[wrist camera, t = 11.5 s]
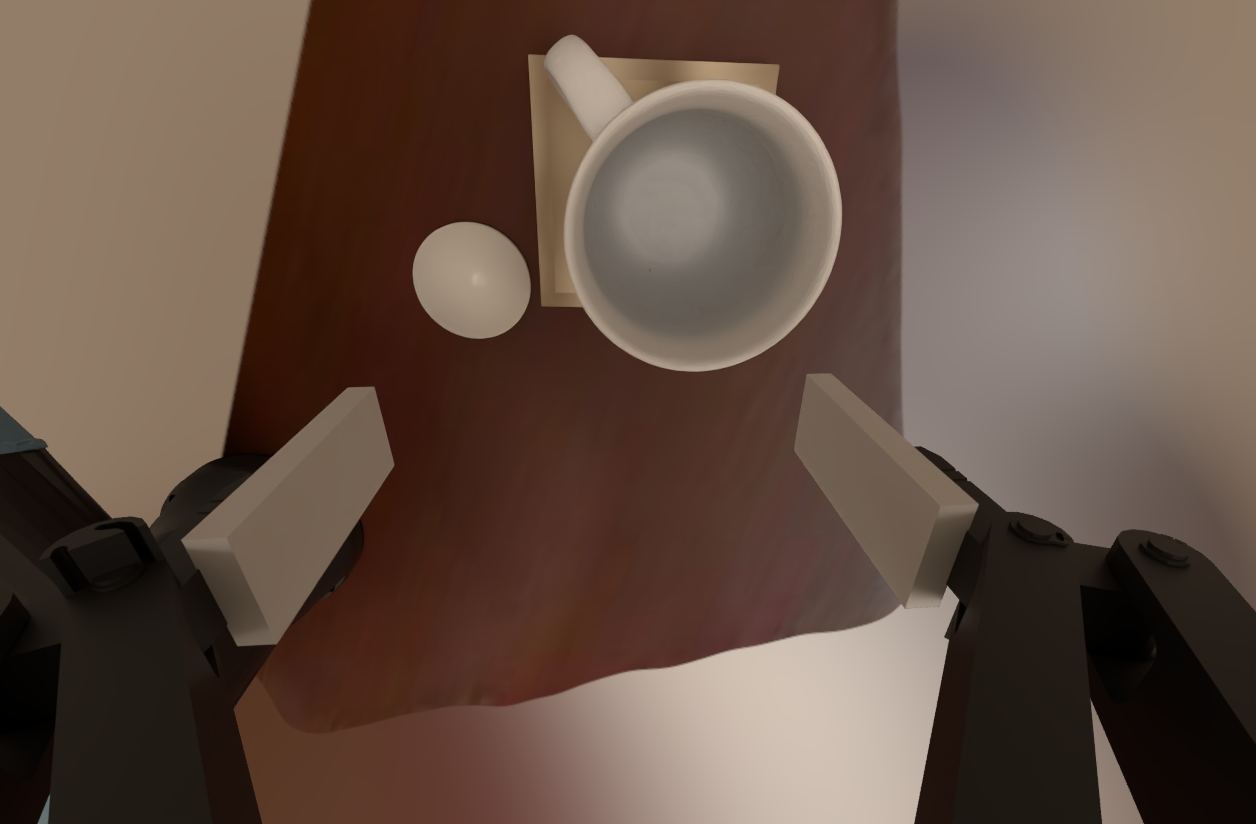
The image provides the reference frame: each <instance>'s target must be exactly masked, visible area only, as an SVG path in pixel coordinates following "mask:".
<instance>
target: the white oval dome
mask: <svg viewBox="0 0 1256 824" xmlns="http://www.w3.org/2000/svg"><path fill="white" fill-rule="evenodd" d="M413 282H414V287H415V291H416V293H417V296H418V299H419V300H420V302H421V304H422V306H423V307H424V309H425V310H426V312H427V313H428V314H429V315H430V316H431V318H432V319H434V320H435V321H436V322H437V323H438V324H439V325H441V326H442V327H443V328H445V329H447V330H448V331H450V332H452V333H455V334H457V335H460V336H463V337H468V338H477V339H481V338H490V337H494V336H497V335H500V334H502V333H504V332H506V331H507V330H509V329H510V328H512V327H513V326H514V325H515V324H516V323H517V322H518V321H519V320H520V318H521V317H522V315H523V314H524V312H525V310H526V308H527V305H528V303H529V299H530V294H531V278H530V273H529V269H528V266H527V263H526V261H525V259H524V257H523V255H522V253H521V252H520V251H519V249H518V248H517V246H516V245H515V244H514V243H513V242H512V241H511V240H510V239H509V238H508V237H506V236H505V235H504V234H502V233H501V232H499V231H498V230H496V229H494V228H492V227H490V226H487V225H484V224H481V223H476V222H457V223H452V224H449V225H446V226H444V227H441V228H439V229H438V230H436V231H434V232H433V233H432V234H430V235H429V236H428V237H427V238H426V239H425V240H424V241H423V243H422V244H421V246H420V247H419V249H418V251H417V253H416V256H415V260H414V265H413Z"/></svg>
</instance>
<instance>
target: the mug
mask: <svg viewBox="0 0 1256 824" xmlns="http://www.w3.org/2000/svg"><path fill="white" fill-rule="evenodd" d="M544 68H545V71H546V73H547V75H548V77H549V79H550V81H551V82H552V84H553V85H554V87H555V88H556V90H557V91H558V93H559V94H560V96H561V97H562V99H563V100H564V101H565V103H566V104H567V105H568V107H569V108H570V109H571V111H572V112H573V113H574V114H575V116H576V117H577V119H578V120H579V122H580V124H581V126H582V127H583V129H584V131H585V133H586V134H587V136H588V137H589V138H590V139H591V141H592V144H591V146H590V148H589V149H588V150H587V152H586V154H585V156H584V157H583V159H582V161H581V163H580V164H579V167H578V169H577V171H576V173H575V176H574V178H573V181H572V185H571V188H570V191H569V194H568V199H567V203H566V210H565V217H564V231H563V237H564V252H565V258H566V264H567V268H568V272H569V276H570V279H571V282H572V285H573V288H574V290H575V292H576V295H577V297H578V299H579V301H580V303H581V305H582V307H583V308H584V310H585V312H586V313H587V315H588V316H589V317H590V319H591V320H592V321H593V323H594V324H595V325H596V326H597V327H598V329H599V330H600V331H601V332H602V333H603V334H604V335H605V336H606V337H607V338H608V339H610V340H611V341H612V342H613V343H614V344H616V345H617V346H618V347H620V348H621V349H623V350H624V351H626V352H627V353H629V354H631V355H632V356H634V357H636V358H638V359H640V360H642V361H644V362H647V363H649V364H652V365H655V366H658V367H662V368H666V369H671V370H678V371H694V372H697V371H709V370H715V369H721V368H725V367H729V366H732V365H735V364H738V363H741V362H743V361H746V360H748V359H750V358H752V357H754V356H756V355H758V354H760V353H762V352H764V351H765V350H767V349H768V348H770V347H771V346H773V345H774V344H776V343H777V342H778V341H780V340H781V339H782V338H783V337H785V336H786V335H787V334H788V333H789V332H790V331H791V330H792V329H793V328H794V327H795V326H796V325H797V324H798V323H799V322H800V321H801V320H802V319H803V318H804V316H805V315H806V314H807V313H808V311H809V310H810V309H811V307H812V306H813V304H814V303H815V301H816V300H817V298H818V297H819V295H820V293H821V292H822V290H823V288H824V286H825V284H826V282H827V280H828V277H829V275H830V273H831V270H832V267H833V264H834V261H835V258H836V255H837V251H838V246H839V241H840V234H841V225H842V204H841V195H840V189H839V183H838V179H837V175H836V171H835V168H834V165H833V162H832V160H831V158H830V155H829V153H828V151H827V149H826V147H825V145H824V143H823V142H822V140H821V138H820V137H819V135H818V134H817V132H816V131H815V130H814V128H813V127H812V126H811V124H810V123H809V122H808V121H807V120H806V119H805V118H804V117H803V116H802V115H801V114H800V113H799V112H798V111H797V110H796V109H795V108H794V107H792V106H791V105H790V104H788V103H787V102H786V101H784V100H783V99H781V98H780V97H778V96H776V95H775V94H773V93H771V92H769V91H767V90H764V89H762V88H760V87H757V86H754V85H751V84H748V83H744V82H739V81H733V80H725V79H699V80H690V81H685V82H680V83H675V84H672V85H669V86H666V87H663V88H661V89H658V90H656V91H653V92H651V93H649V94H647V95H646V96H644V97H642V98H640V99H638V100H637V101H635V102H634V101H633V100H632V98H631V96H630V95H629V94H628V92H627V91H626V89H625V88H624V87H623V85H622V84H621V83H620V81H619V80H618V79H617V78H616V76H615V75H614V74H613V73H612V71H611V70H610V69H609V68H608V67H607V66H606V65H605V64H604V63H603V62H602V60H601V59H600V58H599V57H598V56H597V55H596V54H595V53H594V52H593V50H592V49H591V48H590V47H589V46H588V45H587V44H586V43H585V42H584V41H583V40H582V39H580V38H579V37H577V36H575V35H568V36H566V37H564V38H562V39H561V40H559V41H558V42H557V43H556V44H555V45H554V46H553V47H552V48H551V49H550V50H549V52H548V53H547V55H546V58H545V61H544Z"/></svg>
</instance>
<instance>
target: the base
mask: <svg viewBox="0 0 1256 824" xmlns="http://www.w3.org/2000/svg"><path fill="white" fill-rule="evenodd" d="M545 58H546V55H528V59H529V78H530V97H531V116H532V135H533V154H534V173H535V192H536V211H537V230H538V249H539V268H540V287H541V306H554V307H582V305H581V303H580V301H579V299H578V297H577V295H576V292H575V290H574V288H573V285H572V282H571V279H570V276H569V272H568V268H567V264H566V258H565V252H564V237H563V231H564V217H565V210H566V203H567V199H568V194H569V191H570V188H571V185H572V181H573V178H574V176H575V173H576V171H577V169H578V167H579V164H580V163H581V161H582V159H583V157H584V156H585V154H586V152H587V150H588V149H589V148H590V146H591V144H592V141H591V139H590V138H589V137H588V136H587V134H586V133H585V131H584V129H583V127H582V126H581V124H580V122H579V120H578V119H577V117H576V116H575V114H574V113H573V112H572V111H571V109H570V108H569V107H568V105H567V104H566V103H565V101H564V100H563V99H562V97H561V96H560V94H559V93H558V91H557V90H556V88H555V87H554V85H553V84H552V82H551V81H550V79H549V77H548V75H547V73H546V71H545V68H544V61H545ZM599 58H600V59H601V60H602V62H603V63H604V64H605V65H606V66H607V67H608V68H609V69H610V70H611V71H612V73H613V74H614V75H615V76H616V78H617V79H618V80H619V81H620V83H621V84H622V85H623V87H624V88H625V89H626V91H627V92H628V94H629V95H630V96H631V98H632V100H633V101H634V102H635V101H637V100H638V99H640V98H642V97H644V96H646V95H647V94H649V93H651V92H653V91H656V90H658V89H661V88H663V87H666V86H669V85H672V84H675V83H680V82H685V81H690V80H699V79H725V80H733V81H739V82H744V83H748V84H751V85H754V86H757V87H760V88H762V89H764V90H767V91H769V92H771V93H773V94H776V87H777V80H778V72H779V65H775V64H750V63H726V62H701V61H676V60H651V59H626V58H601V57H599Z"/></svg>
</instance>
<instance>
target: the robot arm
mask: <svg viewBox="0 0 1256 824" xmlns="http://www.w3.org/2000/svg"><path fill="white" fill-rule="evenodd" d="M46 447H48V446H47V444H46V442H45V441H43V440H42V439H36V438H34V437H33V436H32V435H31V434H30V433H29V432H28V431H26V430H25V429H24V428H23V427H22V426H21V425H20V424H19V423H18V422H17V421H16V420H14V419H13V418H12V417H11V416H10V415H9V414H8V413H7V412H6V411H5V410H4V409H2V408H1V407H0V824H262V821H261V817H260V813H259V809H258V805H257V801H256V797H255V793H254V789H253V785H252V781H251V777H250V773H249V769H248V765H247V761H246V757H245V753H244V750H243V745H242V741H241V737H240V733H239V730H238V725H237V722H236V717H235V713H234V710H233V709H234V707H235V706H236V704H237V702H238V701H239V700H240V698H241V697H242V695H243V694H244V692H245V691H246V689H247V688H248V686H249V685H250V683H251V682H252V680H253V679H254V677H255V676H256V674H257V673H258V671H259V670H260V669H261V667H262V666H263V664H264V663H265V661H266V660H267V658H268V657H269V655H270V654H271V652H272V651H273V649H274V648H275V646H276V645H277V643H278V642H279V640H280V639H281V638H282V636H283V635H284V633H285V632H286V630H287V629H288V628H289V627H290V626H291V625H292V624H294V623H295V622H296V621H297V620H299V619H300V618H301V617H302V616H303V615H304V614H306V613H307V612H308V611H309V610H310V609H311V608H312V607H313V606H314V605H315V604H316V603H317V602H318V601H320V600H322V599H324V598H326V597H327V596H329V595H330V594H331V593H333V592H334V591H335V590H337V589H338V588H339V587H340V586H341V584H342V583H343V582H344V581H345V580H346V578H347V577H348V575H349V574H350V572H351V571H352V569H353V568H354V566H355V564H356V563H357V561H358V559H359V557H360V555H361V552H362V547H363V533H362V528H361V524H360V521H359V519H360V517H361V515H362V514H363V512H364V511H365V509H366V508H367V506H368V505H369V503H370V502H371V500H372V499H373V497H374V496H375V494H376V493H377V491H378V490H379V488H380V487H381V485H382V484H383V482H384V480H385V479H386V477H387V476H388V474H389V473H390V471H391V470H392V468H393V467H394V461H393V457H392V454H391V450H390V446H389V442H388V438H387V434H386V430H385V426H384V422H383V419H382V415H381V411H380V407H379V403H378V399H377V395H376V391H375V388H374V387H351V388H347V389H346V390H345V391H343V392H342V393H341V394H340V395H339V396H338V397H337V398H336V399H335V400H334V401H333V402H331V403H330V404H329V405H328V406H327V407H326V408H325V409H324V410H323V411H322V412H321V413H319V414H318V415H317V416H316V417H315V418H314V419H313V420H312V421H311V422H310V423H309V424H307V425H306V426H305V427H304V428H303V429H302V430H301V431H300V432H299V433H298V434H296V435H295V436H294V437H293V438H292V439H291V440H290V441H289V442H288V443H287V444H286V445H284V446H283V447H282V448H281V449H280V450H279V451H278V452H277V453H276V454H275V455H274V456H272V457H267V456H260V455H234V456H227V457H223V458H219V459H216V460H214V461H211V462H209V463H207V464H205V465H203V466H202V467H200V468H199V469H197V470H196V471H195V472H194V473H192V474H191V475H190V476H188V477H187V478H186V479H185V480H183V481H182V482H180V483H179V484H178V485H177V486H176V487H175V488H174V489H173V490H172V492H171V493H170V494H169V496H168V497H167V499H166V500H165V502H164V504H163V506H162V509H161V513H160V516H159V517H158V518H157V519H156V520H155V522H154V523H153V524H152V525H151V527H150V528H149V527H148V526H147V524H146V523H145V522H144V520H143V519H142V518H136V517H122V518H113V519H112V518H111V517H110V516H109V515H108V514H107V513H106V512H105V511H104V510H103V509H102V508H101V506H100V505H98V504H97V502H96V501H95V500H94V499H93V498H92V497H91V496H90V495H89V494H88V493H87V492H86V491H85V490H84V489H83V488H82V487H81V486H80V485H79V484H78V483H77V482H76V481H75V480H74V479H73V477H71V475H70V474H69V473H68V472H67V471H66V470H65V469H64V468H63V467H62V466H61V465H60V464H59V463H58V462H57V461H56V460H55V459H54V458H53V457H52V455H51V454H49V452H48V451H47V450H46V449H45V448H46ZM794 451H795V453H796V454H797V455H798V457H799V458H800V460H801V461H802V463H803V464H804V465H805V467H806V468H807V470H808V471H809V473H810V474H811V475H812V477H813V478H814V480H815V481H816V483H817V484H818V485H819V487H820V488H821V490H822V491H823V492H824V494H825V495H826V497H827V498H828V500H829V501H830V502H831V504H832V505H833V507H834V508H835V510H836V511H837V512H838V514H839V515H840V517H841V518H842V520H843V521H844V522H845V524H846V525H847V527H848V528H849V530H850V531H851V532H852V534H853V535H854V537H855V538H856V540H857V541H858V542H859V544H860V545H861V547H862V548H863V550H864V551H865V552H866V554H867V555H868V557H869V558H870V560H871V561H872V562H873V564H874V565H875V567H876V568H877V570H878V571H879V572H880V574H881V575H882V577H883V578H884V580H885V581H886V582H887V584H888V585H889V587H890V588H891V590H892V591H893V592H894V594H895V595H896V597H897V598H898V600H899V601H900V602H901V604H902V605H903V607H904V608H905V609H910V608H927V607H939V606H940V603H941V600H942V598H943V595H944V593H945V590H946V588H947V586H948V587H949V588H950V589H951V590H952V591H953V593H954V594H955V595H956V596H957V597H958V599H959V602H958V605H957V607H956V610H955V612H954V615H953V617H952V619H951V622H950V624H949V627H948V629H947V632H946V634H945V636H944V637H945V638H947V639H949V643H948V649H947V654H946V660H945V665H944V670H943V676H942V680H941V686H940V691H939V696H938V701H937V707H936V712H935V717H934V723H933V728H932V733H931V738H930V744H929V749H928V754H927V760H926V765H925V770H924V775H923V781H922V786H921V791H920V796H919V802H918V807H917V812H916V817H915V823H914V824H1102V819H1101V810H1100V809H1101V808H1100V797H1099V787H1098V776H1097V766H1096V755H1095V744H1094V733H1093V722H1092V712H1091V702H1090V698H1091V701H1092V703H1093V705H1094V708H1095V710H1096V712H1097V715H1098V717H1099V719H1100V722H1101V724H1102V726H1103V729H1104V731H1105V733H1106V736H1107V738H1108V741H1109V743H1110V745H1111V748H1112V750H1113V752H1114V755H1115V757H1116V759H1117V762H1118V764H1119V766H1120V769H1121V771H1122V773H1123V776H1124V778H1125V780H1126V783H1127V785H1128V787H1129V789H1130V792H1131V794H1132V797H1133V799H1134V801H1135V804H1136V806H1137V809H1138V811H1139V813H1140V815H1141V818H1142V820H1143V823H1144V824H1256V612H1255V610H1254V609H1253V608H1252V607H1251V606H1250V605H1249V604H1248V602H1246V600H1245V599H1244V598H1243V597H1242V596H1241V595H1240V593H1239V592H1238V591H1237V590H1236V589H1235V588H1234V587H1233V585H1232V584H1231V583H1230V582H1229V581H1228V580H1227V579H1226V577H1225V576H1224V575H1223V574H1222V573H1221V572H1220V571H1219V569H1218V568H1217V567H1216V566H1215V565H1214V564H1213V563H1212V562H1211V561H1210V560H1209V559H1208V558H1206V557H1205V556H1204V555H1203V554H1202V553H1200V552H1199V551H1196V550H1195V549H1193V548H1192V547H1190V546H1188V545H1187V544H1186V543H1184V542H1182V541H1180V540H1177V539H1173V538H1172V537H1170V536H1166V535H1163V534H1157V533H1153V532H1149V531H1143V530H1134V529H1133V530H1126V531H1122V532H1121V533H1120V534H1119V535H1118V536H1117V538H1116V540H1115V542H1114V544H1113V545H1112V547H1111V548H1104V547H1098V546H1092V545H1086V544H1079V543H1074V541H1073V539H1072V538H1071V537H1070V536H1069V535H1068V534H1067V533H1066V532H1065V531H1063V530H1062V529H1061V528H1059V527H1057V526H1055V525H1054V524H1052V523H1050V522H1048V521H1046V520H1043V519H1041V518H1038V517H1035V516H1033V515H1028V514H1024V513H1019V512H1006V511H1005V510H1004V509H1002V508H1001V507H1000V506H999V505H998V504H997V503H995V502H994V501H993V500H992V499H991V498H990V497H988V496H987V495H986V494H985V493H984V492H982V491H981V490H980V489H979V488H978V487H976V486H975V485H974V484H973V483H971V481H967V478H966V477H965V476H963V475H962V474H961V473H960V472H959V471H956V470H955V468H954V467H953V466H952V465H950V464H949V463H948V462H947V461H945V460H944V459H943V458H942V457H941V456H939V455H937V454H935V453H933V452H931V451H929V450H927V449H925V448H923V447H921V446H920V447H914V446H912V445H911V444H910V443H909V442H908V441H906V439H904V438H903V437H902V436H901V435H900V434H899V433H898V432H897V431H895V430H894V429H893V428H892V427H891V426H890V425H889V424H887V423H886V422H885V421H884V420H883V419H882V418H881V417H880V416H878V415H877V414H876V413H875V412H874V411H873V410H872V409H870V408H869V407H868V406H867V405H866V404H865V403H864V402H863V401H861V400H860V399H859V398H858V397H857V396H856V395H855V394H853V393H852V392H851V391H850V390H849V389H848V388H847V387H846V386H844V385H843V384H842V383H841V382H840V381H839V380H838V379H837V378H835V377H834V376H833V375H832V374H831V373H830V374H807V376H806V382H805V388H804V394H803V399H802V405H801V411H800V417H799V423H798V429H797V435H796V441H795V446H794Z"/></svg>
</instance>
